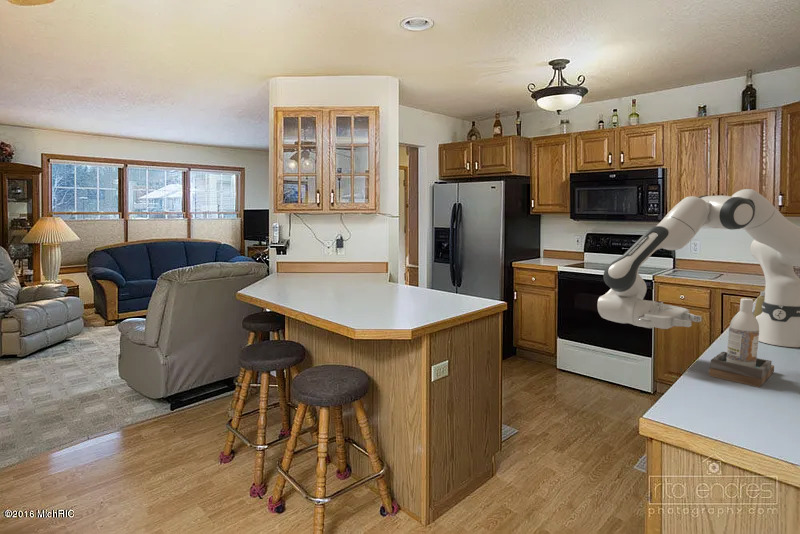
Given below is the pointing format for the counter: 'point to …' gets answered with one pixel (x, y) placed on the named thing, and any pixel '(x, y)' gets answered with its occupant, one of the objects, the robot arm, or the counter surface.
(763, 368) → the tray
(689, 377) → the counter surface
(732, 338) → the bath foam
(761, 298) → the squeeze bottle
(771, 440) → the counter surface
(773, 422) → the counter surface
